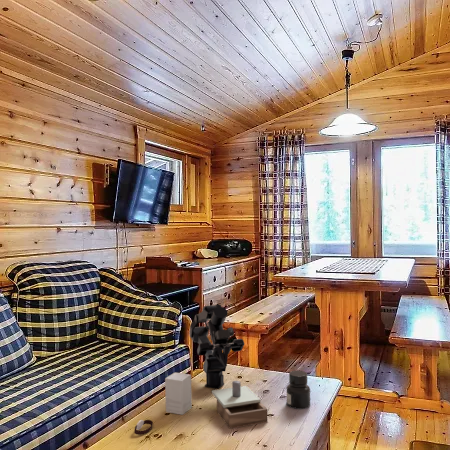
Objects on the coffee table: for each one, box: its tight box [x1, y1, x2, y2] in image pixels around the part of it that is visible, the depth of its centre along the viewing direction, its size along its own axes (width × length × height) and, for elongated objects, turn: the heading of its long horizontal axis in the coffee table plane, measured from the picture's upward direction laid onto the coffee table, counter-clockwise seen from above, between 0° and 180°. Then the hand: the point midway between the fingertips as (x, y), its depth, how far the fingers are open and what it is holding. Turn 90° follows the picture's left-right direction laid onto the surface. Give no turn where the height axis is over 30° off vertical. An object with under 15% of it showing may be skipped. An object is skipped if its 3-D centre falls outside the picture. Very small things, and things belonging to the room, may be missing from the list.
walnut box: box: [216, 399, 269, 429], centre depth 162 cm, size 14×14×4 cm
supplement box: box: [164, 372, 193, 416], centre depth 169 cm, size 7×7×13 cm
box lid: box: [211, 380, 262, 408], centre depth 168 cm, size 14×14×6 cm
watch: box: [133, 419, 154, 436], centre depth 153 cm, size 8×5×4 cm, turn 150°
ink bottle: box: [286, 370, 311, 410], centre depth 172 cm, size 10×9×12 cm
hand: (225, 366), depth 178 cm, fingers closed
